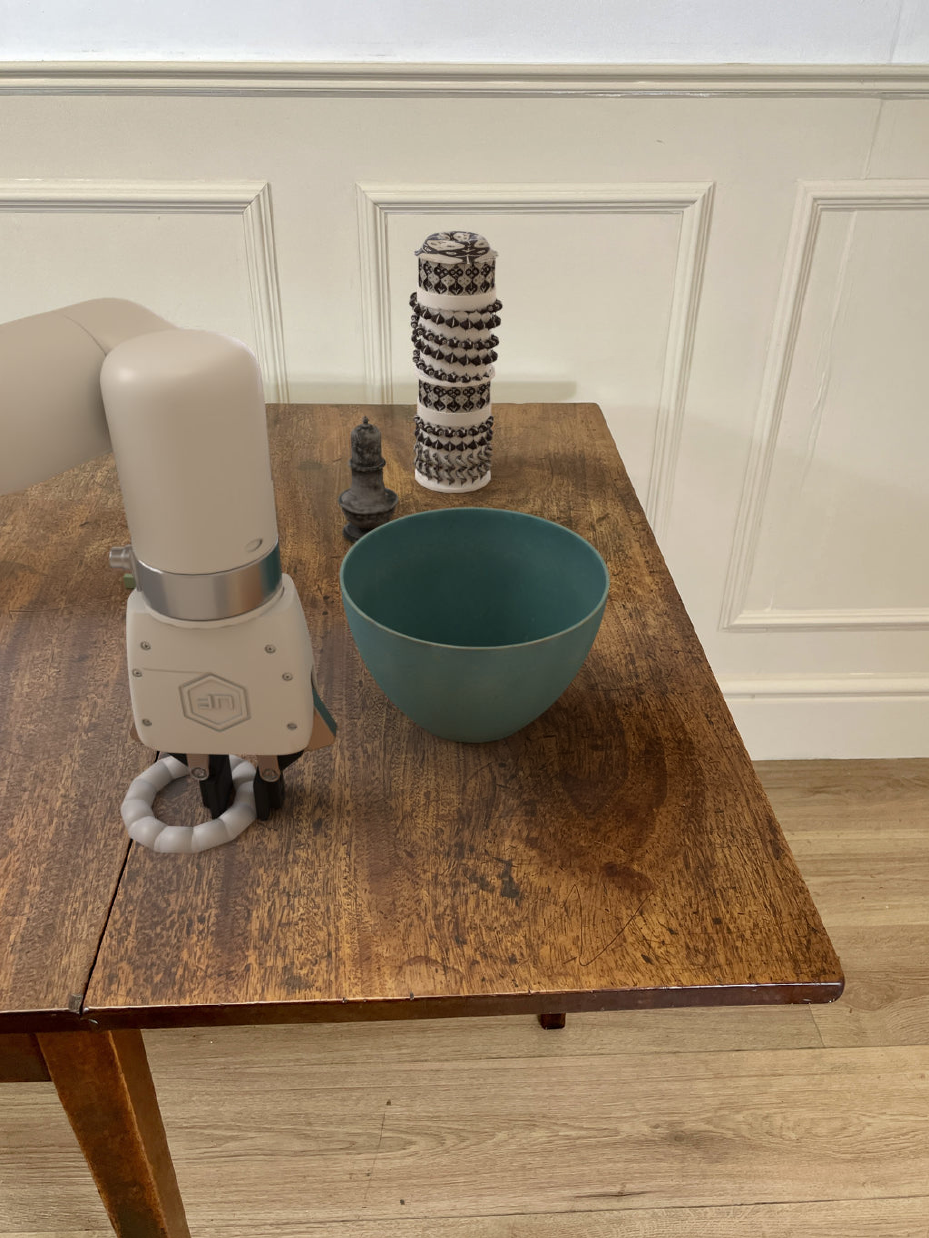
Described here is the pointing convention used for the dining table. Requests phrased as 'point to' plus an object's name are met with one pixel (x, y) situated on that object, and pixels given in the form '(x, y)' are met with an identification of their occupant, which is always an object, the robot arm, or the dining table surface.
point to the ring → (180, 837)
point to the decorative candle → (454, 360)
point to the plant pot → (473, 616)
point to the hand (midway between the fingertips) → (246, 809)
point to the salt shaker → (366, 485)
